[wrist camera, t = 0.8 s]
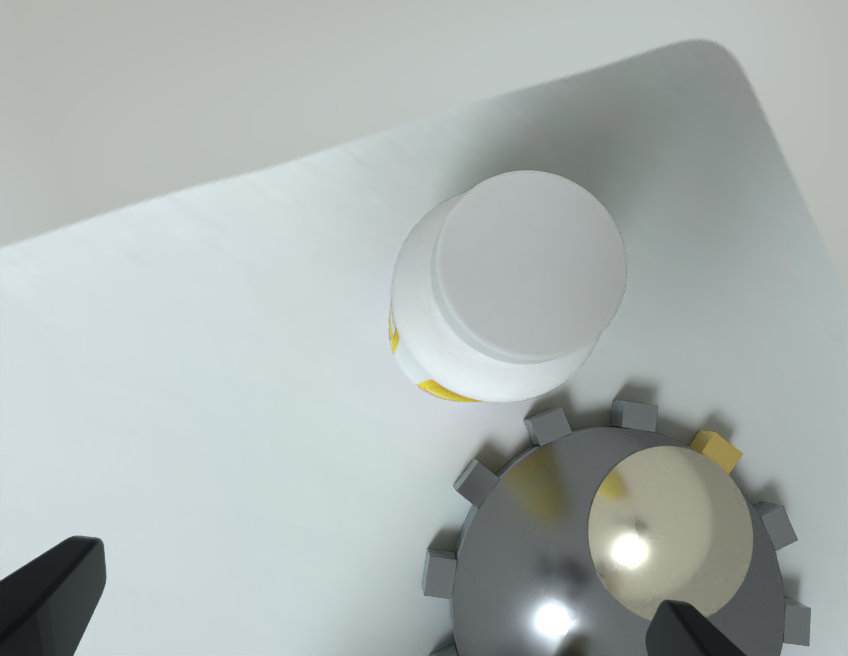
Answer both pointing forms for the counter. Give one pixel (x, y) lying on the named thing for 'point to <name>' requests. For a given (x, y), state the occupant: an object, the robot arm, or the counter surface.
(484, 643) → the sprocket plate
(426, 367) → the supplement bottle
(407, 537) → the counter surface
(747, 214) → the counter surface
